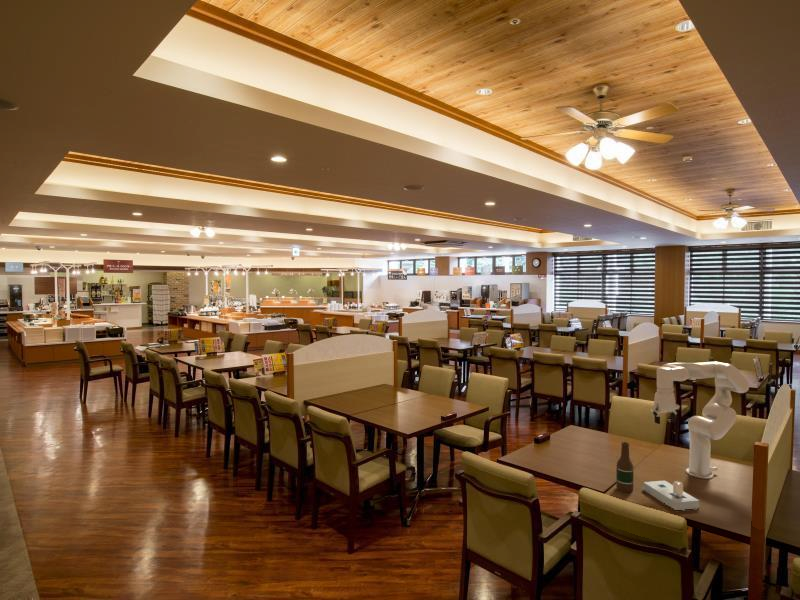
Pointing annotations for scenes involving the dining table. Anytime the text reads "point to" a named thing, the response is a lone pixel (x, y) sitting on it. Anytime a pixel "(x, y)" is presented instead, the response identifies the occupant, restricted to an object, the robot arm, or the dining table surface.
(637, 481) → the dining table surface
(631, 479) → the beer bottle
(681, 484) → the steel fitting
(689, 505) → the manifold block
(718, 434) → the robot arm
